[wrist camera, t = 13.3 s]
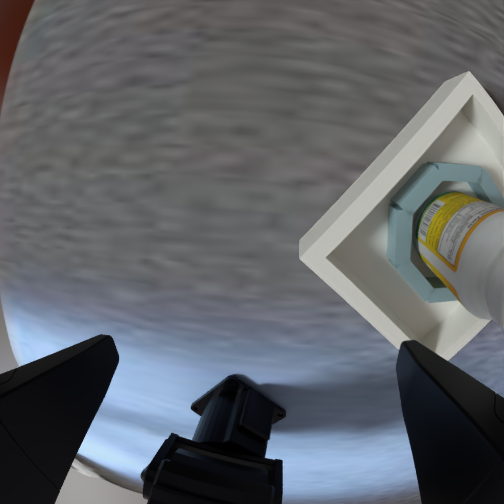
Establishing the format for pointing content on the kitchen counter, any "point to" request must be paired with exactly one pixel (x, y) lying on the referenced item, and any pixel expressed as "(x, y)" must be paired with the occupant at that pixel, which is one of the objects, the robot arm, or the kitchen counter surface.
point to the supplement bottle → (465, 250)
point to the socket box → (411, 219)
